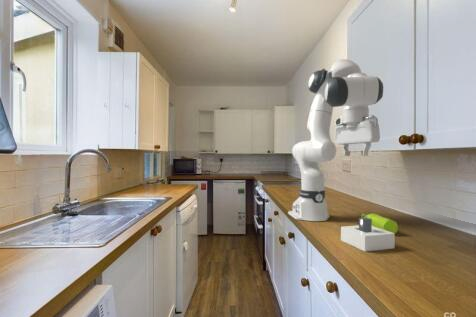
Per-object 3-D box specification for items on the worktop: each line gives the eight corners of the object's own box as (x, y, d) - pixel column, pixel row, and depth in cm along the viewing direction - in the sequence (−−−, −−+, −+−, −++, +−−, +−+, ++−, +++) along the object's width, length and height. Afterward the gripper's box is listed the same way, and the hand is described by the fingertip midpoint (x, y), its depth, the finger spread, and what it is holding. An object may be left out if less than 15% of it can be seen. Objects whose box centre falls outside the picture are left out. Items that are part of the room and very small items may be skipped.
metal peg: (356, 243, 94) (356, 218, 94) (364, 242, 96) (364, 217, 96) (365, 247, 91) (365, 220, 91) (374, 245, 92) (374, 219, 92)
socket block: (340, 240, 98) (341, 226, 98) (368, 237, 101) (368, 224, 101) (364, 251, 86) (364, 236, 86) (394, 248, 90) (394, 233, 90)
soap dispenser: (402, 226, 105) (374, 215, 125) (388, 217, 105) (362, 207, 125) (395, 239, 105) (367, 226, 125) (380, 230, 105) (355, 218, 125)
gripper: (384, 114, 90) (384, 155, 90) (345, 122, 110) (344, 156, 110) (369, 113, 88) (369, 155, 88) (331, 121, 108) (331, 155, 108)
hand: (355, 155), depth 99 cm, fingers open, 8 cm apart
